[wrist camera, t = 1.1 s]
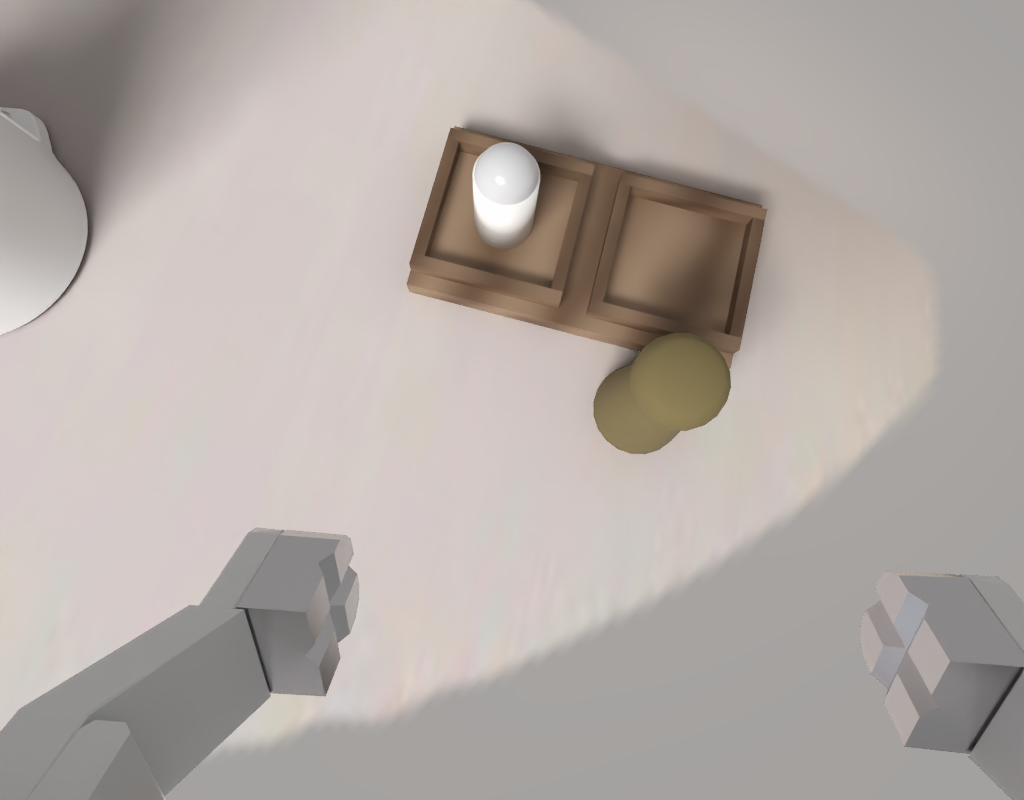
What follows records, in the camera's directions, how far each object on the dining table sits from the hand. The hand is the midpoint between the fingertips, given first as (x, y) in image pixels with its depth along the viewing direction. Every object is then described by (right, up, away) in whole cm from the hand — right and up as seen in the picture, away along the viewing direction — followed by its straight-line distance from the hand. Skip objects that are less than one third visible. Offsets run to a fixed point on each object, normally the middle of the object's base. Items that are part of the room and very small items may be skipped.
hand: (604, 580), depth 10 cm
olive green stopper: (+7, +2, +33) cm, 33 cm away
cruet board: (+4, +13, +34) cm, 37 cm away
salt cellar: (-2, +15, +33) cm, 36 cm away
